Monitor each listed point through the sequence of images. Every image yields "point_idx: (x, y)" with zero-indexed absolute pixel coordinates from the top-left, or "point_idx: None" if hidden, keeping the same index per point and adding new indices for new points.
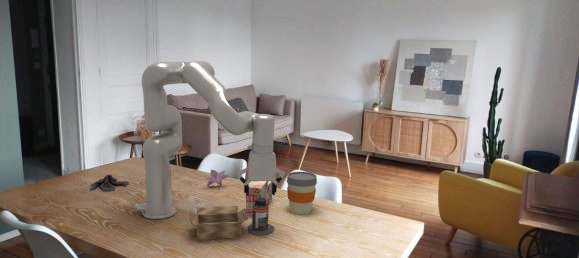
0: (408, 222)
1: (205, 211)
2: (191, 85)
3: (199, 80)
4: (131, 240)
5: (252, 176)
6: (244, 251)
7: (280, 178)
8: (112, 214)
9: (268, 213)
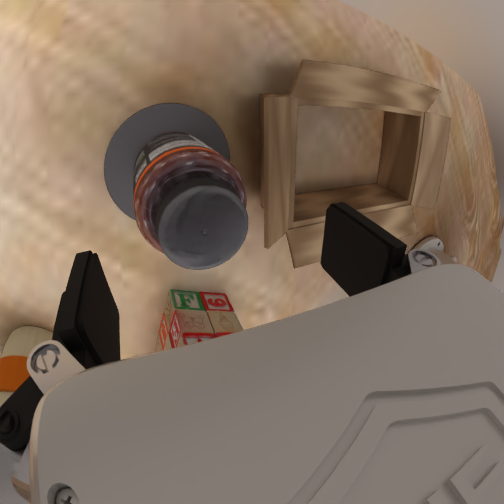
0: None
1: (395, 219)
2: None
3: None
4: (468, 137)
5: (486, 301)
6: None
7: (3, 429)
8: (460, 251)
9: (133, 189)
